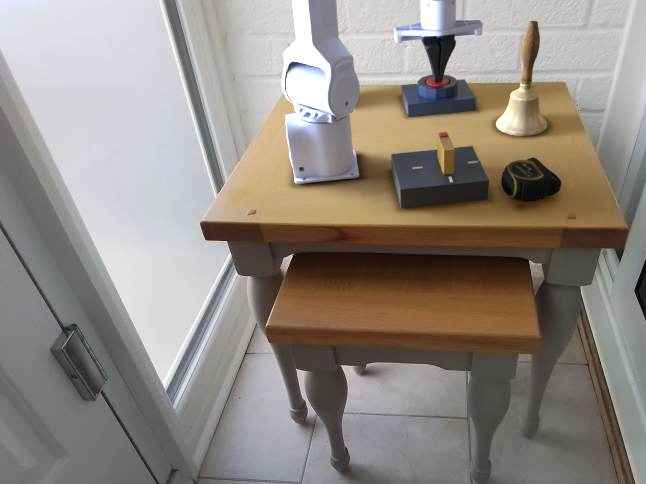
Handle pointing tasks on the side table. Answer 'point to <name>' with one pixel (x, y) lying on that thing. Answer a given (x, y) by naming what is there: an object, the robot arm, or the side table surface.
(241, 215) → the side table surface
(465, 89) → the button base
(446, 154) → the lock knob
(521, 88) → the hand bell
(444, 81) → the bell button
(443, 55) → the robot arm
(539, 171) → the tape measure
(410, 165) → the plate
